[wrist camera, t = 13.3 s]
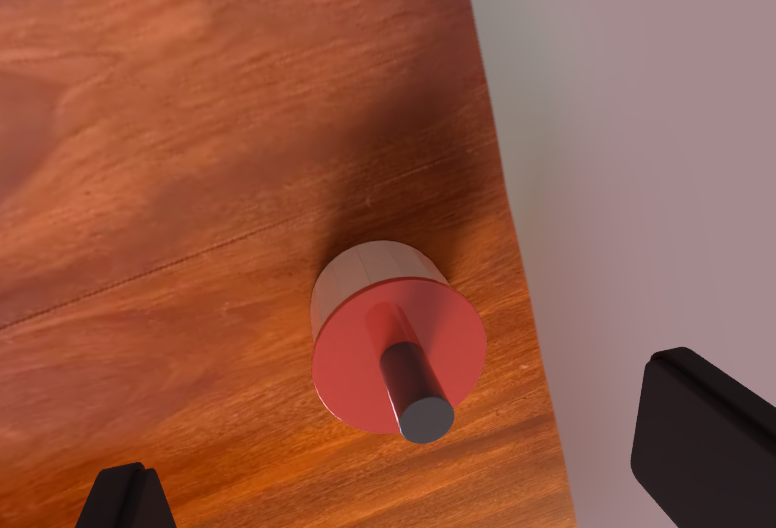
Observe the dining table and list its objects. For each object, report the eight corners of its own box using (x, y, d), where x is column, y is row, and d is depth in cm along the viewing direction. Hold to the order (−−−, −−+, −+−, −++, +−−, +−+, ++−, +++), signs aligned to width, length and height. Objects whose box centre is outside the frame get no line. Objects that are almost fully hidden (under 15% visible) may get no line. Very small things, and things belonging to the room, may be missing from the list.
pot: (363, 213, 34) (384, 250, 28) (468, 283, 38) (508, 331, 32) (283, 324, 36) (284, 384, 30) (390, 380, 40) (413, 443, 34)
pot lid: (381, 238, 28) (410, 286, 22) (512, 324, 32) (567, 385, 26) (275, 380, 30) (274, 460, 24) (411, 443, 34) (440, 525, 28)
